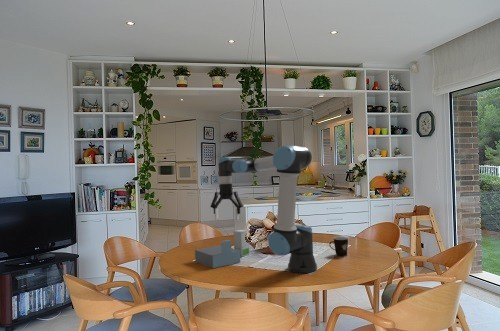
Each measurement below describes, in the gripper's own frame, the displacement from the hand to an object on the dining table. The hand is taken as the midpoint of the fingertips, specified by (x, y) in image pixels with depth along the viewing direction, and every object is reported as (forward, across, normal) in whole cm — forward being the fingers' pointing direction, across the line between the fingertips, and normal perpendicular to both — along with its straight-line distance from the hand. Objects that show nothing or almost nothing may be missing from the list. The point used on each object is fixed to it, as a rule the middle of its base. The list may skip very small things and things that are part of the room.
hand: (227, 219), depth 207 cm
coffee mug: (+25, -59, -30) cm, 71 cm away
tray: (+24, +5, +4) cm, 25 cm away
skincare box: (+25, -1, -16) cm, 29 cm away
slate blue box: (+24, +6, +3) cm, 25 cm away
